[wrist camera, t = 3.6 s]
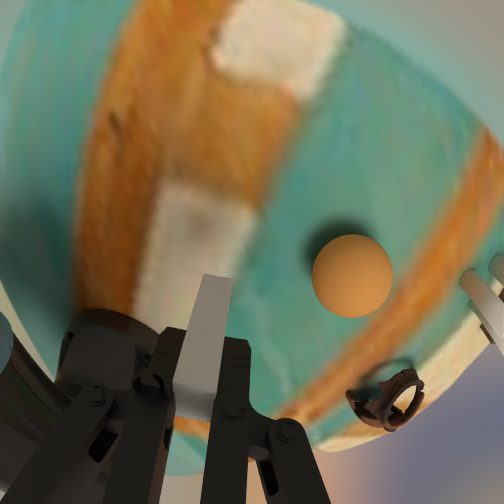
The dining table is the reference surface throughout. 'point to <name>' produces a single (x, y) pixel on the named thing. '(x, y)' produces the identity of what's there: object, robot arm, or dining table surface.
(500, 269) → the pin
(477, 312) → the pin
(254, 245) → the dining table surface
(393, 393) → the pottery mug
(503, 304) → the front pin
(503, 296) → the back wall
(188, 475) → the dining table surface
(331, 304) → the ball
